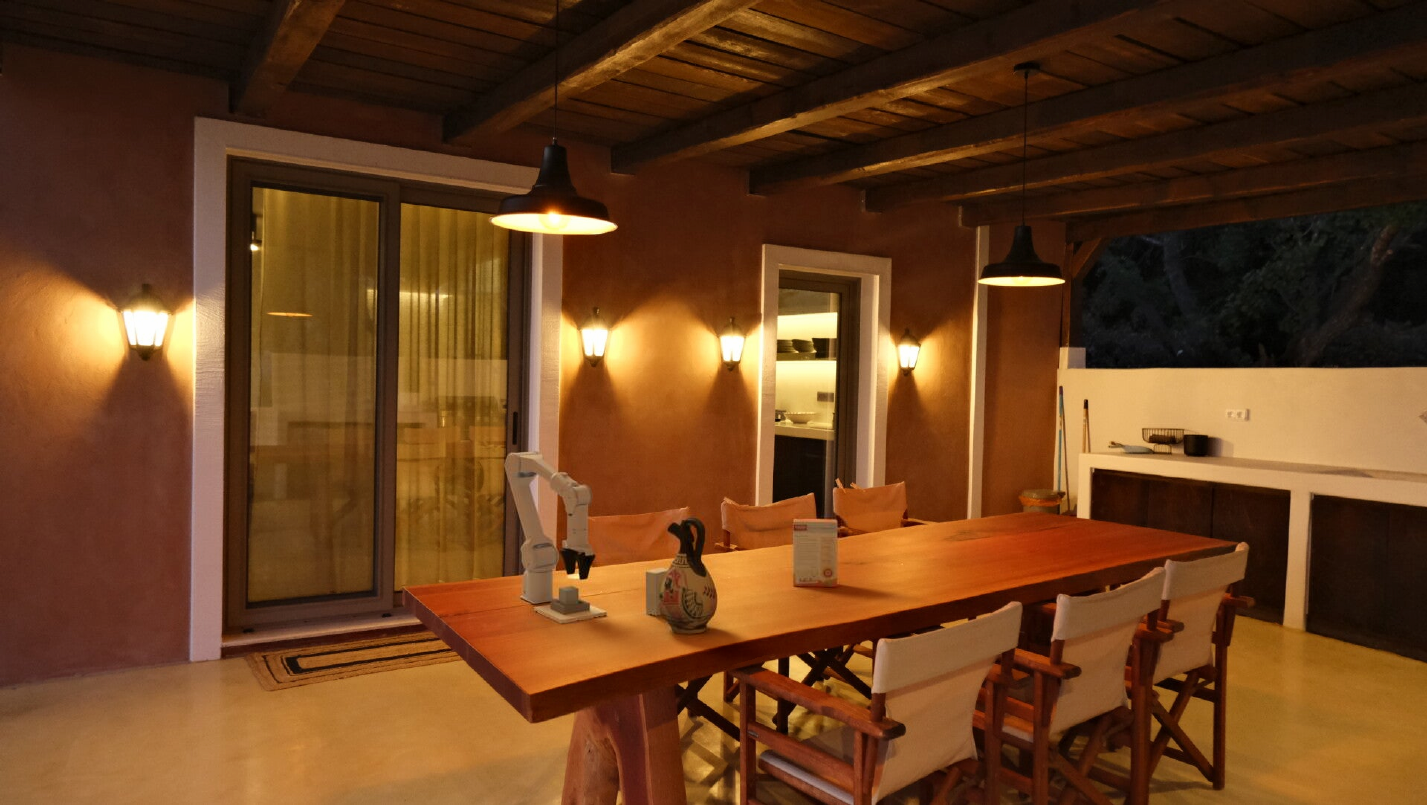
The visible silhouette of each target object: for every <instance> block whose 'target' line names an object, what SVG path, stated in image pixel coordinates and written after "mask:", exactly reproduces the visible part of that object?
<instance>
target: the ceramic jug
mask: <svg viewBox="0 0 1427 805" xmlns="http://www.w3.org/2000/svg"><path fill="white" fill-rule="evenodd" d="M692 526H693V527H694V528H695V530H696V539H695V535H694V533H693V531H692V529H691V527H692ZM667 532H668V533H669V534H671V535H673V536H675V538H677V539H678V540H679V543H680V545H679V550H678V552H677V554H676V556H675V558H674V559H673V560H672V562H671V564H670V565H669V567H668V568H667V569H668V571H667V572H666V574H665V576H664V578H663V580H662V584H661V588H660V593H659V608H660V612H661V615H662V618H664V620H665V621H666V622H667V624H668V625H669V626H670V628H671V631H672V632H674V633H676V632H678V633H677V634H681V635H682V634H686V635H687V634H688V635H694V634H701V633H704V632H705V631H706V630H707V629H708V625H707V624H709V622H710V621H711V620H712V618H713V617H714V616H715V614H716V611H717V608H718V593H717V589H716V586H715V582H714V580H713V577H712V576H711V573H710V571H709V570H708V568H707V567H706V565H705V564H704V562H703V561H702V556H703V555H702V554H703V552H704V548H705V547H704V546H705V542H706V527H705V525H704V523H703V522H702V521H701V520H699V518H696V517H687V518H686V519H682V520H681V522H680V524H678V523H677V522H674V521H673V522H672V523H671V524H670V525H669V526H668V527H667ZM693 543H695V546H694V544H693ZM716 636H718V635H716Z"/></svg>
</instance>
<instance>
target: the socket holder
mask: <svg viewBox="0 0 1427 805" xmlns="http://www.w3.org/2000/svg"><path fill="white" fill-rule="evenodd" d="M549 602H550V603H549V604H545V605H540V606H534V607H533V611H534V612H535V611H537V612H538V614H540V615H542V616H543V617H547V618H548V617H549V618H548V619H550V620H551V621H554V620H555V622H556V621H557V623H559V624H561V625H562V623H563V624H568V623H572V622H578V621H577V620H579V621H583V620H590V619H593V618H592V617H596V618H600V617H599V616H601V617H604V616H603V615H606V616H607V615H608V613H607V611H606V610H603V609H601V608H599V607H596V606H594V605H592V604H591V603H590V602H588V601H585V600H583V599H580V598H579V604H577V605H571V606H564V605H561V604H559V599H558V600H555V601H549ZM537 612H536V613H537ZM589 618H590V619H589Z"/></svg>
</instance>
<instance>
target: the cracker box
mask: <svg viewBox="0 0 1427 805" xmlns="http://www.w3.org/2000/svg"><path fill="white" fill-rule="evenodd" d="M792 529H793V537H792V543H793V544H792V548H793V549H792V585H793V587H819V588H820V587H821V588H838V520H837V519H833V518H831V519H829V518H828V519H825V518H793V527H792Z"/></svg>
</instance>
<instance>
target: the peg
mask: <svg viewBox="0 0 1427 805" xmlns="http://www.w3.org/2000/svg"><path fill="white" fill-rule="evenodd" d="M579 592H580V591H579V588H578V587H576V586H573V585H570V586H569V585H568V586H563V587H562V586H561V587H558V600H559V604H561V605H564V606H571V605H577V604H579V599H580V598H579V596H580V593H579Z"/></svg>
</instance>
